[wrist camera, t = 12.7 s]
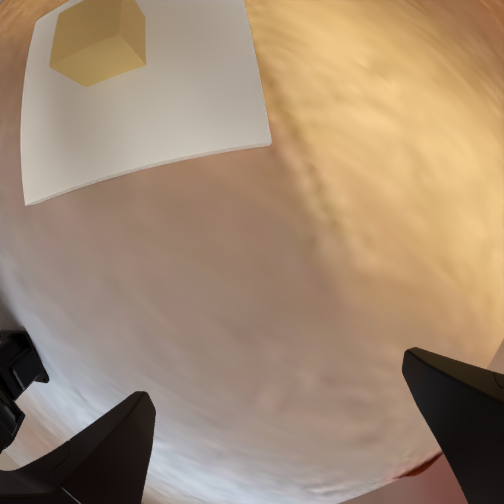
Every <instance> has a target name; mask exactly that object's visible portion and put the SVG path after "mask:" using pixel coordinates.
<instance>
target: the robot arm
mask: <svg viewBox="0 0 504 504" xmlns="http://www.w3.org/2000/svg"><path fill="white" fill-rule="evenodd" d="M402 373H403V376H404V378H405V380H406V382H407V385H408V387H409V389H410V391H411V394H412V396H413V398H414V400H415V403H416V405H417V407H418V408H419V410H420V412H421V414H422V415H423V417H424V419H425V420H426V422H427V424H428V426H429V427H430V429H431V431H432V433H433V435H434V436H435V438H436V440H437V442H438V444H439V446H440V447H441V449H442V451H443V453H444V455H445V457H446V459H447V460H448V462H449V464H450V466H451V468H452V470H453V472H454V474H455V476H456V478H457V480H458V482H459V484H460V486H461V489H462V491H463V493H464V495H465V497H466V500H467V502H468V504H504V374H500V373H497V372H492V371H490V370H487V369H483V368H480V367H477V366H473V365H470V364H467V363H464V362H461V361H457V360H454V359H451V358H448V357H445V356H442V355H439V354H436V353H433V352H429V351H426V350H423V349H420V348H417V347H413V348H410V349H407V350H406V351H405V353H404V358H403V365H402ZM33 381H36V382H42V383H48V382H49V378H48V376H47V374H46V372H45V370H44V368H43V366H42V364H41V362H40V360H39V358H38V356H37V354H36V352H35V350H34V347H33V345H32V343H31V341H30V338H29V336H28V334H27V333H26V332H25V331H0V454H1V452H2V450H4V449H6V448H7V447H8V446H10V444H11V443H12V442H13V441H14V439H15V437H16V435H17V433H18V430H19V428H20V426H21V424H22V422H23V420H24V418H25V414H24V413H23V411H21V410H20V408H19V407H18V406H17V405H16V403H15V402H14V401H15V400H17V398H18V397H19V396H20V395H21V394H22V393H23V392H24V391H25V390H26V389H27V388H28V387H29V386H30V384H31V383H32V382H33ZM155 416H156V410H155V407H154V405H153V403H152V401H151V399H150V397H149V395H148V393H147V392H145V391H136V392H134V393H133V394H131V395H130V396H129V397H127V398H126V399H125V400H123V401H122V402H121V403H119V404H118V405H117V406H115V407H114V408H113V409H111V410H110V411H109V412H107V413H106V414H104V415H103V416H102V417H100V418H99V419H98V420H96V421H95V422H93V423H92V424H91V425H89V426H88V427H86V428H85V429H84V430H82V431H81V432H79V433H78V434H77V435H75V436H74V437H72V438H71V439H70V441H69V440H68V441H66V442H65V443H64V444H62V445H61V446H59V447H58V448H56V449H55V450H53V451H51V452H50V453H48V454H46V455H44V456H42V457H41V458H39V459H37V460H35V461H33V462H31V463H29V464H27V465H25V466H23V467H21V468H19V469H16V470H12V471H3V470H0V504H141V501H142V495H143V490H144V485H145V480H146V475H147V470H148V465H149V461H150V456H151V451H152V445H153V435H154V425H155Z"/></svg>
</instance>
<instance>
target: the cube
mask: <svg viewBox="0 0 504 504" xmlns="http://www.w3.org/2000/svg"><path fill="white" fill-rule="evenodd" d="M143 66H146V45H145V16H144V14H143V13H142V11H141V9H140V8H139V6H138V5H137V3H136V1H135V0H83V1H81V2H79V3H77V4H75V5H74V6H72V7H70V8H68V9H66V10H64V11H63V12H61V13H59V15H58V20H57V24H56V28H55V33H54V38H53V44H52V50H51V56H50V64H49V67H50V68H52V69H54V70H56V71H57V72H59V73H61V74H63V75H65V76H66V77H68V78H70V79H72V80H73V81H75V82H77V83H79V84H80V85H82V86H84V87H86V88H87V87H89V86H91V85H94V84H96V83H98V82H101V81H103V80H106V79H108V78H111V77H114V76H116V75H119V74H122V73H125V72H128V71H131V70H134V69H137V68H140V67H143Z"/></svg>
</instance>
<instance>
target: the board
mask: <svg viewBox="0 0 504 504" xmlns="http://www.w3.org/2000/svg"><path fill="white" fill-rule="evenodd" d="M81 1H83V0H70V1H68V2H66V3H64V4H63V5H61V6H59V7H57V8H56V9H54V10H52V11H51V12H49V13H48V14H46V15H44V16H43V17H41V18H40V19H38V20H37V21H36V24H35V28H34V32H33V36H32V40H31V44H30V49H29V54H28V59H27V65H26V72H25V79H24V87H23V97H22V110H21V167H22V181H23V191H24V199H25V206H26V205H32V204H37V203H40V202H42V201H45V200H48V199H50V198H53V197H56V196H58V195H61V194H64V193H67V192H70V191H72V190H75V189H78V188H81V187H84V186H88V185H91V184H94V183H97V182H100V181H104V180H107V179H110V178H114V177H117V176H121V175H124V174H128V173H132V172H136V171H139V170H143V169H147V168H151V167H155V166H160V165H164V164H168V163H173V162H177V161H182V160H187V159H192V158H197V157H202V156H207V155H213V154H218V153H224V152H230V151H237V150H243V149H250V148H258V147H265V146H270V144H271V143H272V141H271V135H270V129H269V123H268V117H267V111H266V106H265V100H264V95H263V89H262V84H261V79H260V73H259V68H258V63H257V58H256V53H255V48H254V43H253V39H252V34H251V29H250V25H249V20H248V15H247V11H246V7H245V2H244V0H135V1H136V3H137V5H138V6H139V8H140V9H141V11H142V13H143V14H144V16H145V45H146V66H143V67H140V68H137V69H134V70H131V71H128V72H125V73H122V74H119V75H116V76H114V77H111V78H108V79H106V80H103V81H101V82H98V83H96V84H94V85H91V86H89V87H87V88H86V87H84V86H82V85H80V84H79V83H77V82H75V81H73V80H72V79H70V78H68V77H66V76H65V75H63V74H61V73H59V72H57V71H56V70H54V69H52V68H50V67H49V64H50V56H51V50H52V44H53V38H54V33H55V28H56V24H57V20H58V15H59V13H61V12H63V11H64V10H66V9H68V8H70V7H72V6H74V5H75V4H77V3H79V2H81Z"/></svg>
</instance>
